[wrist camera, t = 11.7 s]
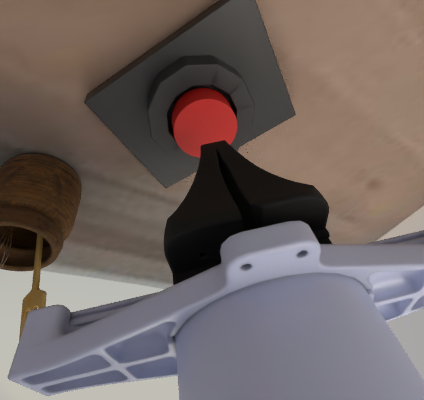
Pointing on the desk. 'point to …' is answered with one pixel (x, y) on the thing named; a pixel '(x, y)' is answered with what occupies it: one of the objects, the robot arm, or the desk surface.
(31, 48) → the desk surface
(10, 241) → the utensil holder
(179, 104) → the button
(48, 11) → the desk surface
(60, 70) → the desk surface
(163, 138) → the button box
